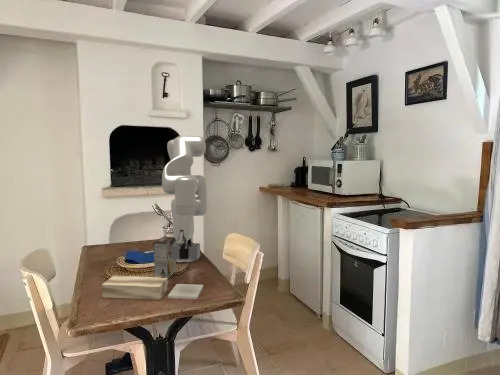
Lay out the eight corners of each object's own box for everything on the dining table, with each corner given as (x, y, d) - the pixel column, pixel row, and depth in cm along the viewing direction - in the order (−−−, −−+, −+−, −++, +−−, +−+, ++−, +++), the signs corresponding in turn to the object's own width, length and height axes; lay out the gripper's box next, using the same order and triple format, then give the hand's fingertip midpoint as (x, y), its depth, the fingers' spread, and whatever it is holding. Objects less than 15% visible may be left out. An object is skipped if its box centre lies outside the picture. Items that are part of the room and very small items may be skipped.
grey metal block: (175, 255, 132) (175, 242, 132) (200, 255, 131) (200, 243, 131) (171, 259, 127) (170, 246, 127) (197, 260, 126) (197, 247, 126)
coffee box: (163, 270, 154) (163, 236, 152) (176, 271, 153) (176, 237, 151) (154, 278, 145) (153, 241, 143) (168, 279, 144) (167, 242, 142)
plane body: (114, 287, 135) (113, 275, 135) (167, 289, 133) (167, 277, 133) (102, 297, 126) (102, 284, 126) (159, 300, 124) (159, 287, 124)
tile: (176, 286, 137) (176, 283, 137) (203, 287, 136) (203, 284, 136) (168, 297, 126) (167, 295, 126) (196, 299, 125) (196, 296, 125)
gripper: (182, 205, 136) (182, 249, 138) (168, 213, 119) (169, 263, 121) (200, 206, 135) (200, 250, 137) (189, 214, 119) (189, 264, 121)
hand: (185, 255), depth 129 cm, fingers closed on grey metal block, 5 cm apart
